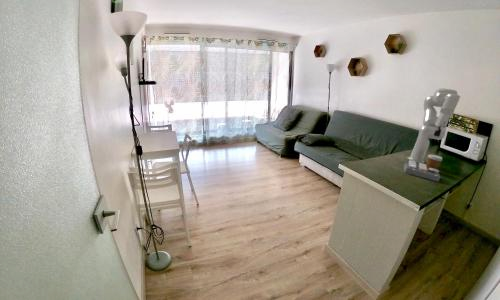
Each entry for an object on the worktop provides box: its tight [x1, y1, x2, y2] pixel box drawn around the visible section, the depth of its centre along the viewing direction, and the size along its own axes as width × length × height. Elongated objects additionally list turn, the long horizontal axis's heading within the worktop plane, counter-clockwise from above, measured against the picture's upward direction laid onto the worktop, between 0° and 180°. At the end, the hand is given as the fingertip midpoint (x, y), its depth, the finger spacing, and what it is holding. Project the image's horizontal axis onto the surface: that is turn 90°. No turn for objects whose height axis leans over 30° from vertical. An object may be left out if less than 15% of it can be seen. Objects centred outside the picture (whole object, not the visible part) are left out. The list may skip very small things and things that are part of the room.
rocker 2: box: [418, 163, 427, 172], centre depth 172 cm, size 9×4×1 cm, turn 150°
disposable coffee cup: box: [425, 153, 443, 170], centre depth 183 cm, size 10×10×12 cm
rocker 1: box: [408, 159, 417, 169], centre depth 175 cm, size 9×4×1 cm, turn 150°
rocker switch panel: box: [403, 162, 442, 182], centre depth 175 cm, size 18×21×4 cm
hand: (436, 135), depth 170 cm, fingers closed
